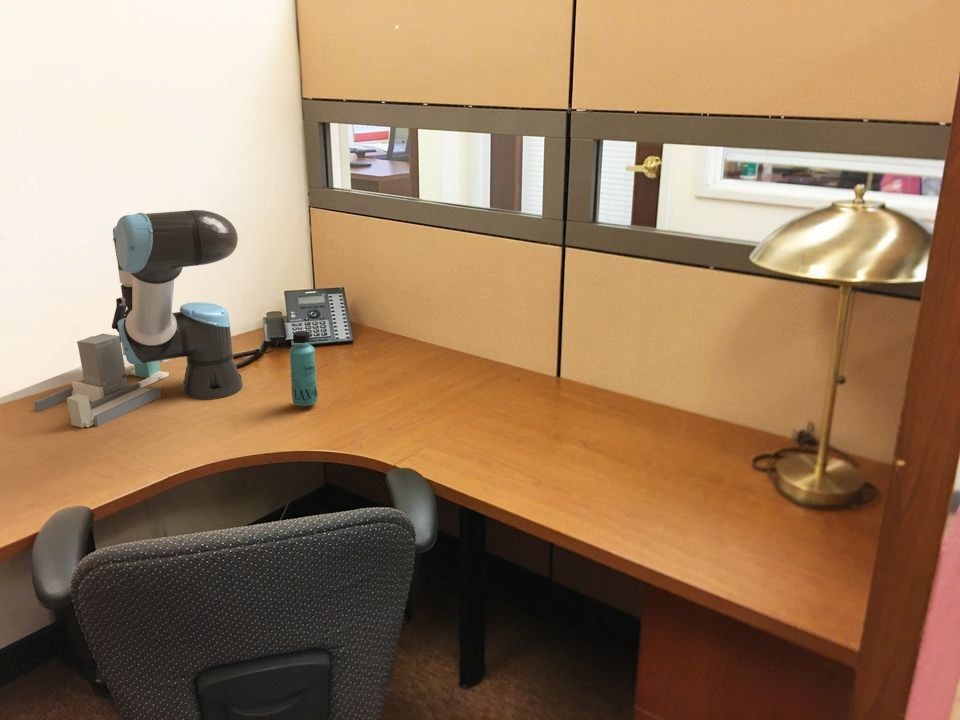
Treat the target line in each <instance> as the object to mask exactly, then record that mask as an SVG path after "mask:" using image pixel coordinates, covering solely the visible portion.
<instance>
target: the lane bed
mask: <svg viewBox="0 0 960 720" xmlns="http://www.w3.org/2000/svg"><path fill="white" fill-rule="evenodd" d="M80 382H81V383H85V381H80ZM138 388H140V383H138V382H135V383H132V384H131V385H128V387H126V388H123V389H121V390H119V391H117V392H114V393H112V394H110V395H107V396H105V397H103V398H101V399H98V400H96V401H94V402H89V403H90V408H91V409H93V408H96V407H98V406H100V405H102V404H105V403H107V402H109V401H111V400H113V399H116V398H118V397H120V396H122V395H125V394H127V393H129V392H131V391H133V390H136V389H138ZM72 391H73V386H72V385H71V386H69V387H66V388H64V389H62V390H59V391H57V392H54V393H52V394H49V395H47V396H45V397H42V398H39V399H37V400H35V401H34V407H35V411H36V412H42V411H44V410H47V409H49V408H50V407H52V406H56V405H57V404H60V403H62V402H65V401H67V398H68V397H70V396H72V393H71V392H72ZM161 392H162V391H161V388H160V387H159V386H156V387H154V388H152V389H151V390H150V391H147V392H145V393H143V394H141V395H139V396H137V397H134V398H132V399H130V400H128V401H126V402H124V403H121V404H119V405H117V406H115V407H113V408H111V409H108V410H106V411H104V412H102V413H100V414H97V415H95V416H94V421H95V424H94V426H95V427H101V426H103V425H104V424H107V423H109V422H111V421H113V420H115V419H117V418H119V417H121V416H123V415H125V414H128V413H130V412H131V411H134V410H135V409H138V408H140V407H142V406H144V405H146V404H148V403H151V402H153V401H155V400H156V399H158V398H161V397H162V393H161Z"/></svg>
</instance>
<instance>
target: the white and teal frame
mask: <svg viewBox="0 0 960 720" xmlns="http://www.w3.org/2000/svg"><path fill="white" fill-rule="evenodd" d="M133 365H134V366H129V367H127V368H125V371H126V376H128V375H132V376H135V377H141V378H145V379H143V380H140V381H139V382H137V383H140V387H142V388H145V387H147V386H149V385H151V384H153V383H155V382H157V381H160V380H162V379H165V378H166V377H168V376H170V375H169V374H170V373H169V372H167V371H162V370H161V369H160V361H156V362H150V363H146V364H133ZM81 382H82V381H72V382H71V386H73V391H72V392H71V393H72V396H73V395H75V394H81V395H85V396H88V397H89V402H90V403H92V402H94V401H96V400H98V399H101V398H103V397H104V392H103V387H98V386H94V385H90V384H85V383H81Z"/></svg>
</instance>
